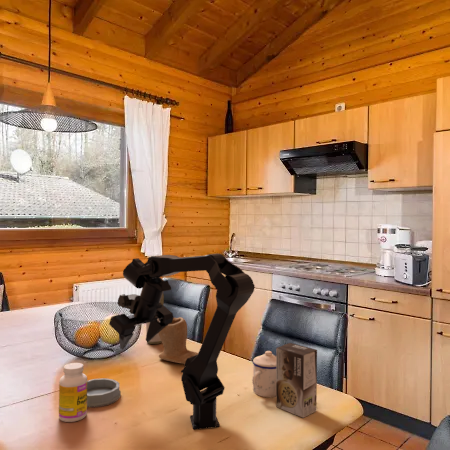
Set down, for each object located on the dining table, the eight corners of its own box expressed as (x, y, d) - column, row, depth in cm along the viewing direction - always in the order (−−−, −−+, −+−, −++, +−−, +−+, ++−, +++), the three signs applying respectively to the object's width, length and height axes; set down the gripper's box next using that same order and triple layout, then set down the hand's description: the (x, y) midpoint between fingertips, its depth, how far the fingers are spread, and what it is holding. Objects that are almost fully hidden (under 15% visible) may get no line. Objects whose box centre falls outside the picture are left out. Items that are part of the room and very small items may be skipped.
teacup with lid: (263, 382, 129) (264, 344, 128) (289, 390, 123) (290, 351, 123) (240, 395, 119) (240, 354, 119) (267, 404, 114) (267, 361, 113)
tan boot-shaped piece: (150, 361, 146) (150, 318, 146) (173, 352, 156) (173, 312, 156) (182, 371, 137) (182, 325, 137) (205, 361, 147) (205, 318, 147)
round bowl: (119, 405, 112) (119, 394, 112) (70, 409, 110) (70, 397, 109) (121, 386, 124) (121, 376, 124) (77, 389, 122) (77, 379, 122)
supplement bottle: (77, 424, 102) (78, 371, 101) (53, 421, 103) (53, 369, 103) (92, 412, 108) (92, 362, 108) (68, 409, 109) (68, 360, 109)
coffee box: (317, 410, 110) (318, 349, 110) (303, 418, 106) (304, 355, 106) (289, 399, 117) (290, 341, 117) (274, 406, 112) (275, 346, 112)
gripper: (157, 278, 127) (142, 322, 131) (105, 286, 112) (90, 335, 116) (181, 298, 121) (165, 343, 125) (130, 308, 106) (113, 359, 110)
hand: (134, 344), depth 119 cm, fingers open, 9 cm apart
